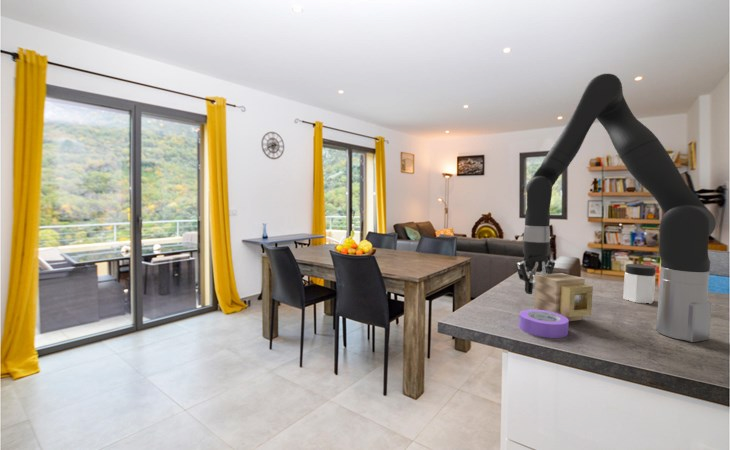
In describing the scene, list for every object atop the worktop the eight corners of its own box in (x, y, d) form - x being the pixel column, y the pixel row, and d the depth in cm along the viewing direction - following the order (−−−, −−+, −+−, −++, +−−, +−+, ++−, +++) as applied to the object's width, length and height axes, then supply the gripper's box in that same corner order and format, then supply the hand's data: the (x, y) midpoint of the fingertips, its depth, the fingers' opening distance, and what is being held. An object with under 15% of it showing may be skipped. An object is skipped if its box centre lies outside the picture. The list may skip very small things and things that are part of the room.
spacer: (591, 314, 98) (592, 286, 98) (568, 317, 96) (570, 288, 95) (581, 311, 101) (583, 283, 100) (559, 313, 99) (560, 285, 98)
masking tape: (570, 328, 96) (570, 314, 95) (565, 342, 86) (566, 327, 86) (523, 319, 102) (524, 306, 102) (514, 332, 93) (515, 317, 92)
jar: (651, 305, 116) (653, 269, 115) (621, 300, 122) (623, 266, 121) (655, 300, 122) (657, 266, 121) (626, 295, 128) (628, 262, 127)
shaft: (583, 303, 98) (583, 292, 97) (574, 303, 97) (575, 293, 97) (532, 286, 116) (532, 277, 116) (524, 287, 115) (525, 278, 115)
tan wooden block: (582, 319, 102) (584, 278, 101) (554, 322, 99) (556, 280, 98) (560, 311, 110) (561, 273, 109) (533, 313, 107) (535, 274, 106)
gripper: (526, 242, 106) (524, 298, 107) (563, 240, 110) (561, 294, 112) (509, 239, 113) (507, 291, 115) (545, 238, 117) (543, 288, 119)
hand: (534, 292), depth 113 cm, fingers open, 3 cm apart
